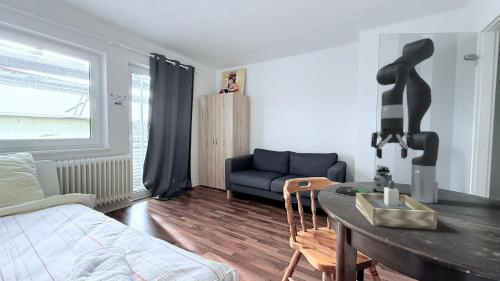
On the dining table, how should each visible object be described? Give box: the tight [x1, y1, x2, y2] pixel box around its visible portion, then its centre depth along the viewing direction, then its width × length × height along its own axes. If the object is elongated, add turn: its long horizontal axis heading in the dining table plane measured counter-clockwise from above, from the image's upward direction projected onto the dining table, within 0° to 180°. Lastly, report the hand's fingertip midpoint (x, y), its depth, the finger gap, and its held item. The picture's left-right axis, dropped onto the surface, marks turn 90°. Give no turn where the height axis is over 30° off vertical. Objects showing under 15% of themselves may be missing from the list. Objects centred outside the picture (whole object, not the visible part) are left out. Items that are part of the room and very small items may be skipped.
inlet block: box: [372, 199, 412, 210], centre depth 85 cm, size 10×10×4 cm
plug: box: [383, 180, 400, 206], centre depth 85 cm, size 4×4×13 cm
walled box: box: [355, 193, 438, 231], centre depth 85 cm, size 20×20×6 cm
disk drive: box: [335, 185, 371, 198], centre depth 116 cm, size 10×3×15 cm
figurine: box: [372, 164, 393, 192], centre depth 116 cm, size 9×12×15 cm
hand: (391, 158), depth 86 cm, fingers open, 8 cm apart
